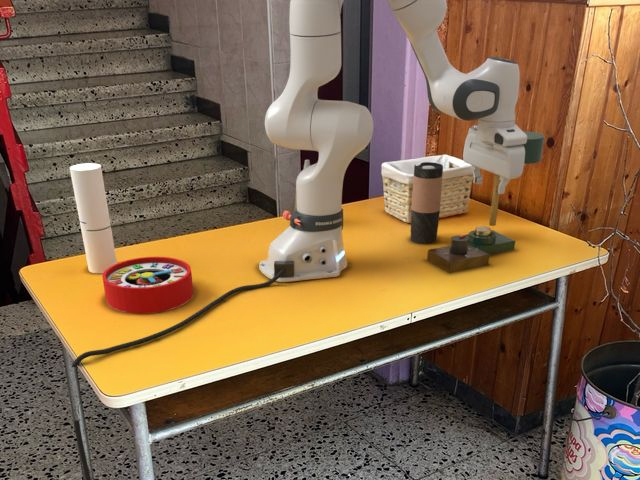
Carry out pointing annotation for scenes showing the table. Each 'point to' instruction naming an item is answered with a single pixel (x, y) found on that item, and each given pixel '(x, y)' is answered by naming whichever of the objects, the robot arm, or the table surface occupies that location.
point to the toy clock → (148, 284)
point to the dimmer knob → (459, 244)
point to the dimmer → (457, 259)
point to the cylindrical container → (93, 216)
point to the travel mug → (426, 202)
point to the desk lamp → (531, 156)
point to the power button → (482, 231)
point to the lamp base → (491, 242)
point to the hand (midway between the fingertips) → (488, 188)
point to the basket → (401, 186)
